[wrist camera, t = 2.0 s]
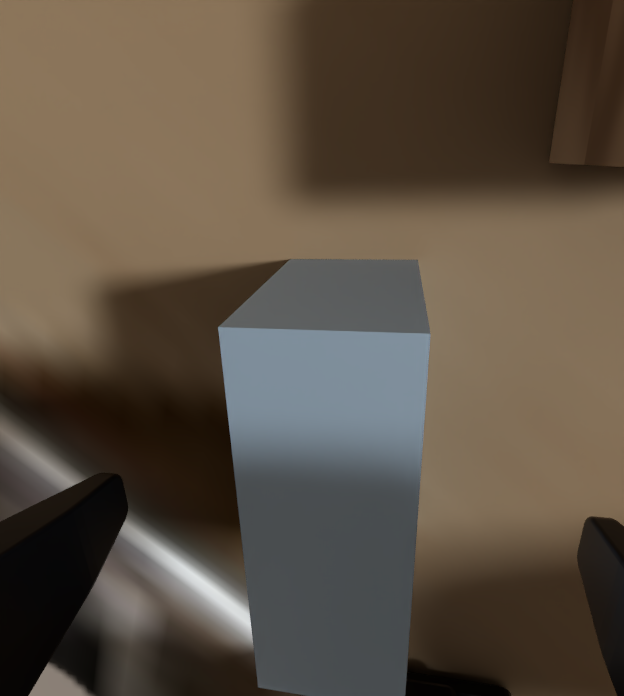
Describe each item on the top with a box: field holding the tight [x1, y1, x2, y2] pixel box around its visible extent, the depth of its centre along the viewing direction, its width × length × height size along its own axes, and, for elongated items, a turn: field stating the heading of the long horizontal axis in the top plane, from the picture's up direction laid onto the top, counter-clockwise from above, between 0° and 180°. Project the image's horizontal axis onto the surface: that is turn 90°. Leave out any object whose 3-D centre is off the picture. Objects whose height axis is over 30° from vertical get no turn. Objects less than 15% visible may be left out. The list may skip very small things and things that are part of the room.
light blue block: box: [218, 259, 430, 696], centre depth 10 cm, size 8×3×5 cm, turn 2°
